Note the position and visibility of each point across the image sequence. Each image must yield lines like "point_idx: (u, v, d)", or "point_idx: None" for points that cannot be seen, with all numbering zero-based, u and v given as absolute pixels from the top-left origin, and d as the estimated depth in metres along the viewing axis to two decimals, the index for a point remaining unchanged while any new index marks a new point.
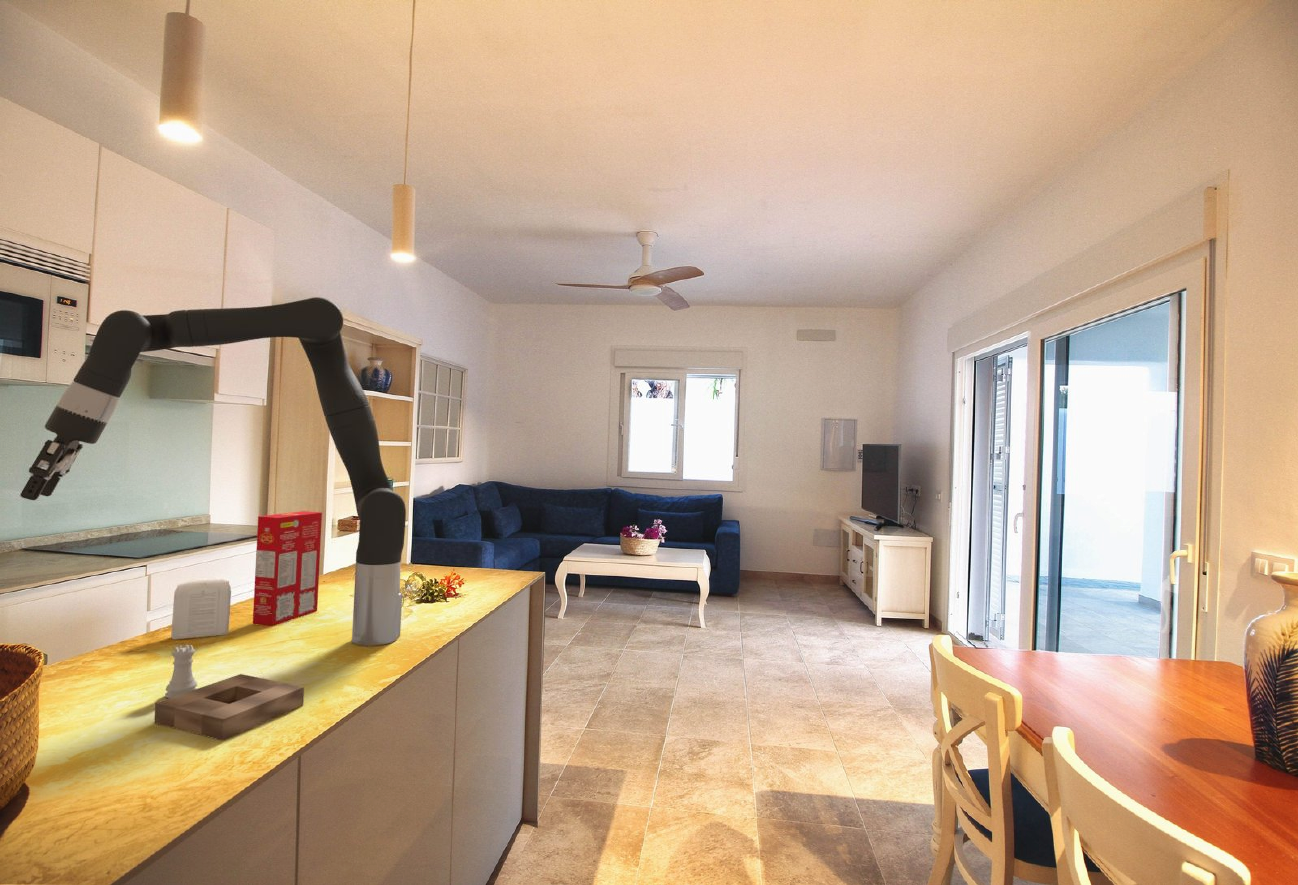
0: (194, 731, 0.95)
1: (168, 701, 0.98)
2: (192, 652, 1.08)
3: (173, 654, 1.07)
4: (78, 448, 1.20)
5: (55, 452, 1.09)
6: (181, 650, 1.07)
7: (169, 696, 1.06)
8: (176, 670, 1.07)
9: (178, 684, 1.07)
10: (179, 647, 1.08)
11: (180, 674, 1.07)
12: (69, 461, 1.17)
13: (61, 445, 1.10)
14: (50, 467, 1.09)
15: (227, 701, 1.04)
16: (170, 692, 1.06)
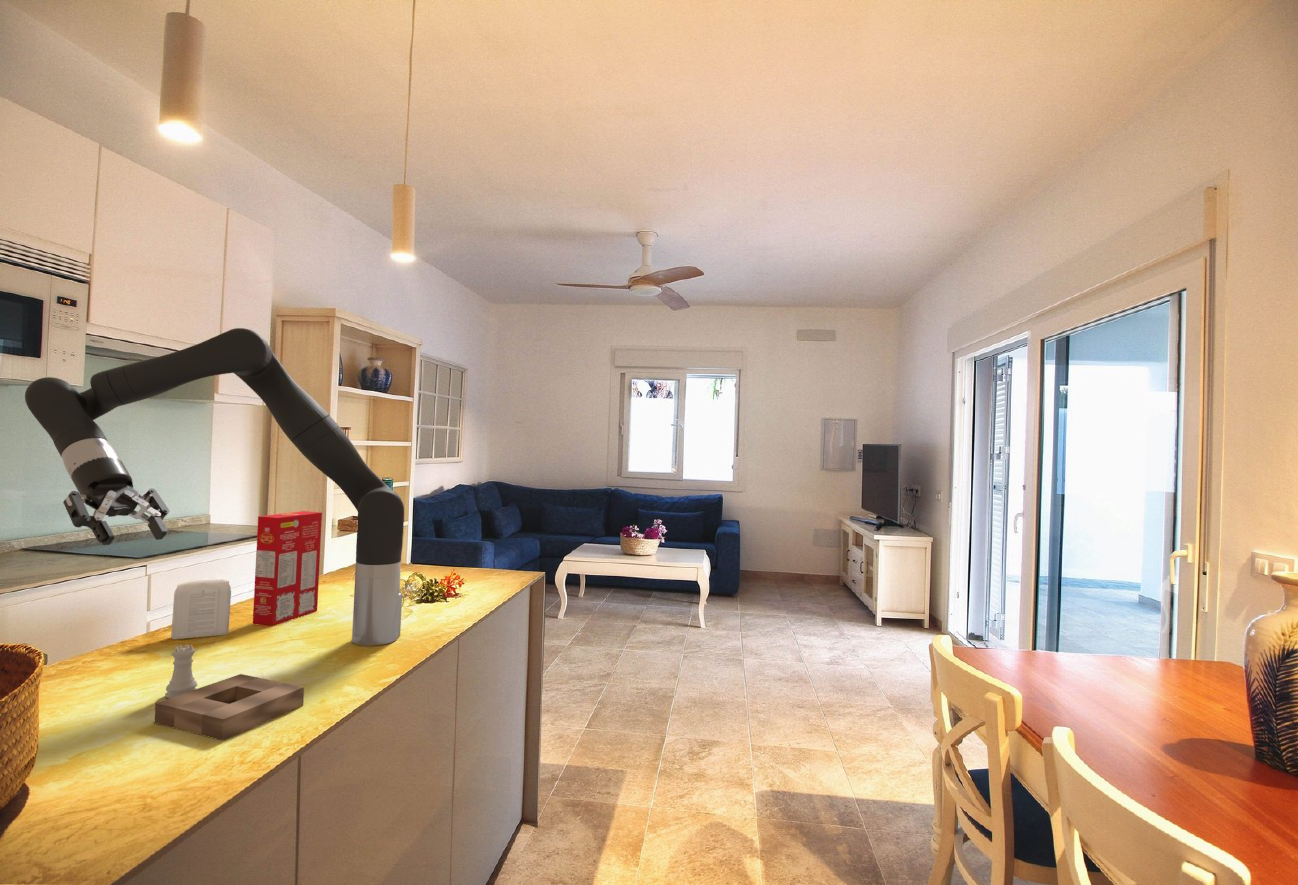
0: (194, 731, 0.95)
1: (168, 701, 0.98)
2: (192, 652, 1.08)
3: (173, 654, 1.07)
4: (149, 492, 1.20)
5: (71, 500, 1.08)
6: (181, 650, 1.07)
7: (169, 696, 1.06)
8: (176, 670, 1.07)
9: (178, 684, 1.07)
10: (179, 647, 1.08)
11: (180, 674, 1.07)
12: (134, 501, 1.16)
13: (70, 493, 1.08)
14: (78, 510, 1.07)
15: (227, 701, 1.04)
16: (170, 692, 1.06)
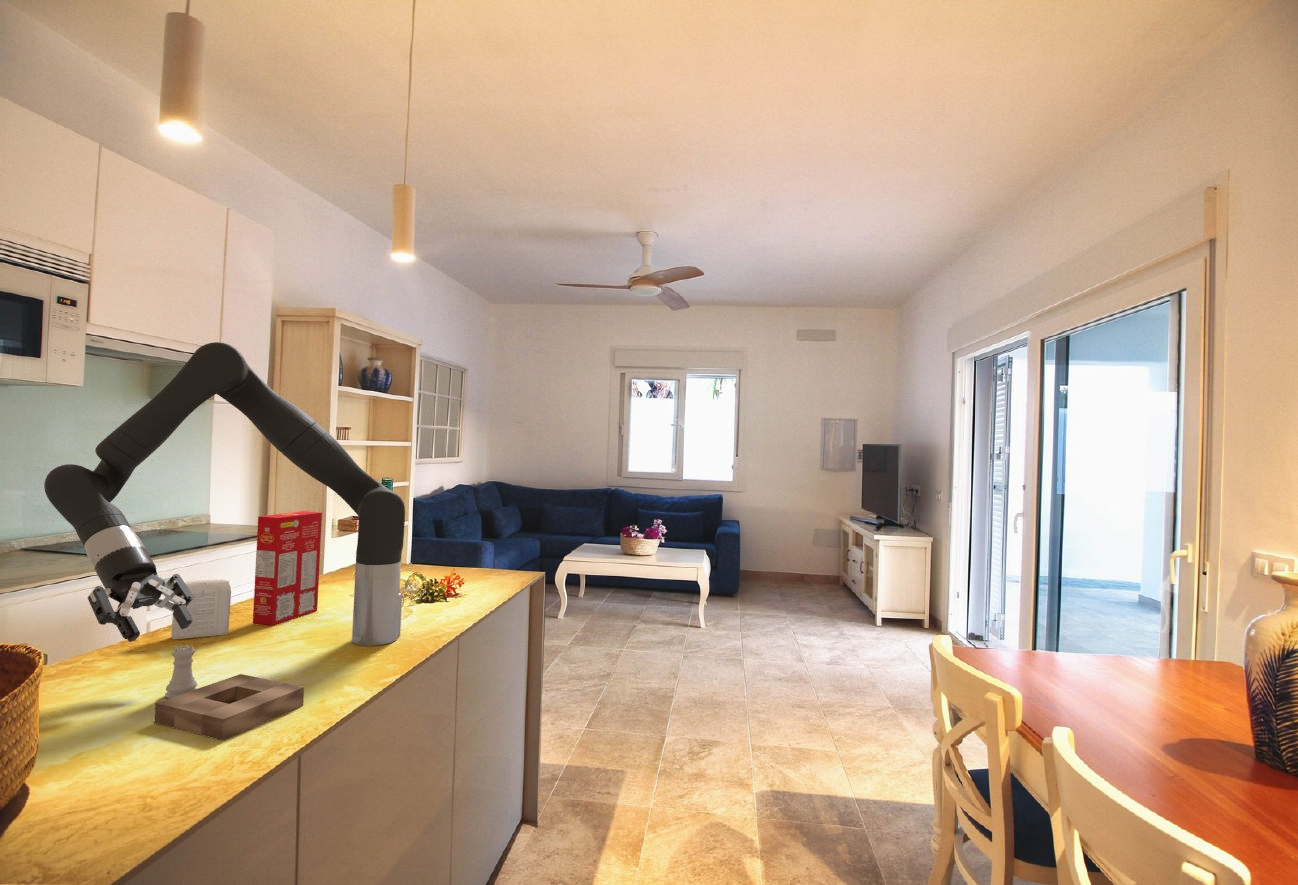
0: (194, 731, 0.95)
1: (168, 701, 0.98)
2: (192, 652, 1.08)
3: (173, 654, 1.07)
4: (173, 578, 1.17)
5: (95, 596, 1.05)
6: (181, 650, 1.07)
7: (169, 696, 1.06)
8: (176, 670, 1.07)
9: (178, 684, 1.07)
10: (179, 647, 1.08)
11: (180, 674, 1.07)
12: (158, 591, 1.13)
13: (94, 589, 1.06)
14: (102, 607, 1.05)
15: (227, 701, 1.04)
16: (170, 692, 1.06)
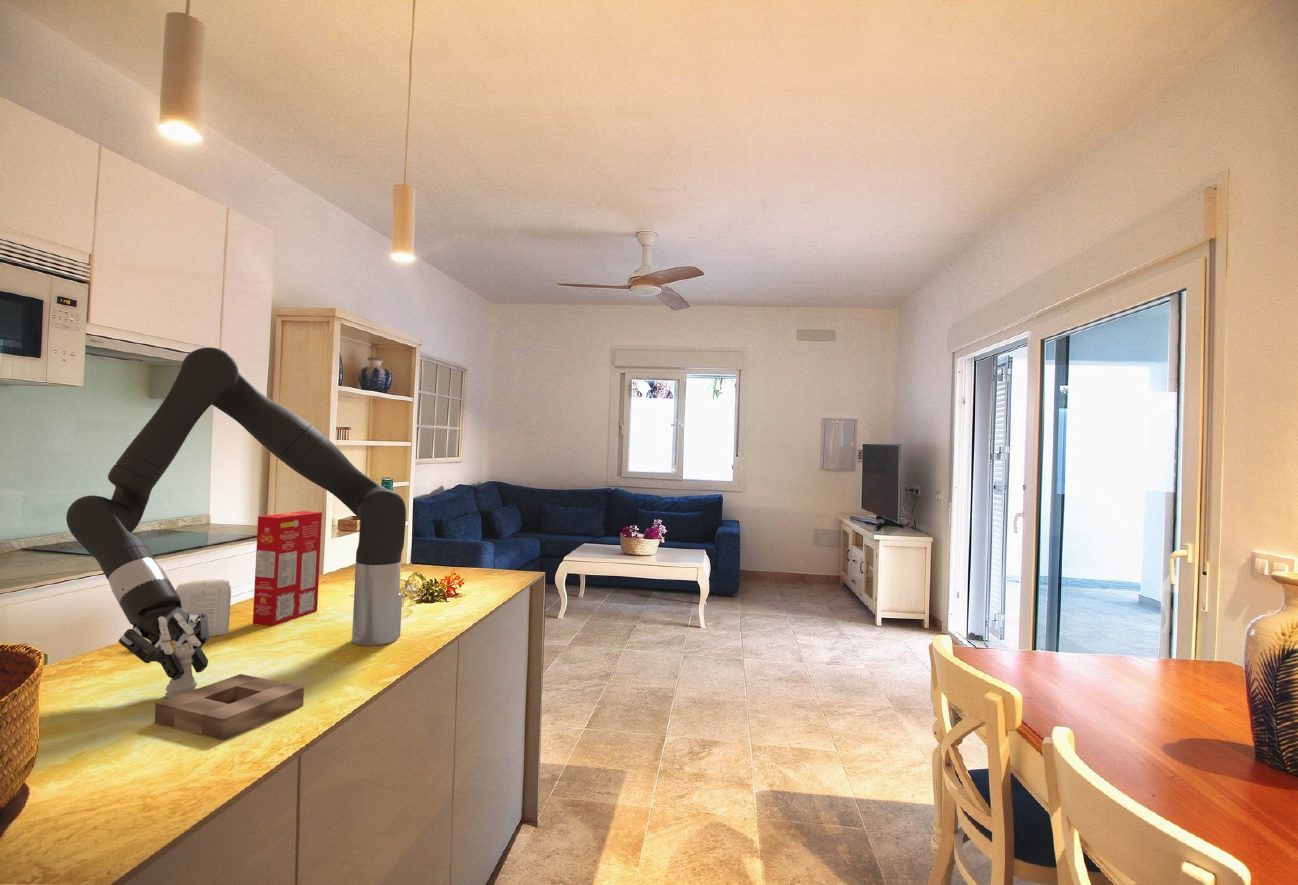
0: (194, 731, 0.95)
1: (168, 701, 0.98)
2: (192, 652, 1.08)
3: None
4: (199, 616, 1.15)
5: (130, 640, 1.03)
6: (181, 650, 1.07)
7: (169, 696, 1.06)
8: None
9: (178, 684, 1.07)
10: (179, 647, 1.08)
11: None
12: (179, 626, 1.10)
13: (125, 633, 1.03)
14: (145, 648, 1.04)
15: (227, 701, 1.04)
16: (170, 692, 1.06)
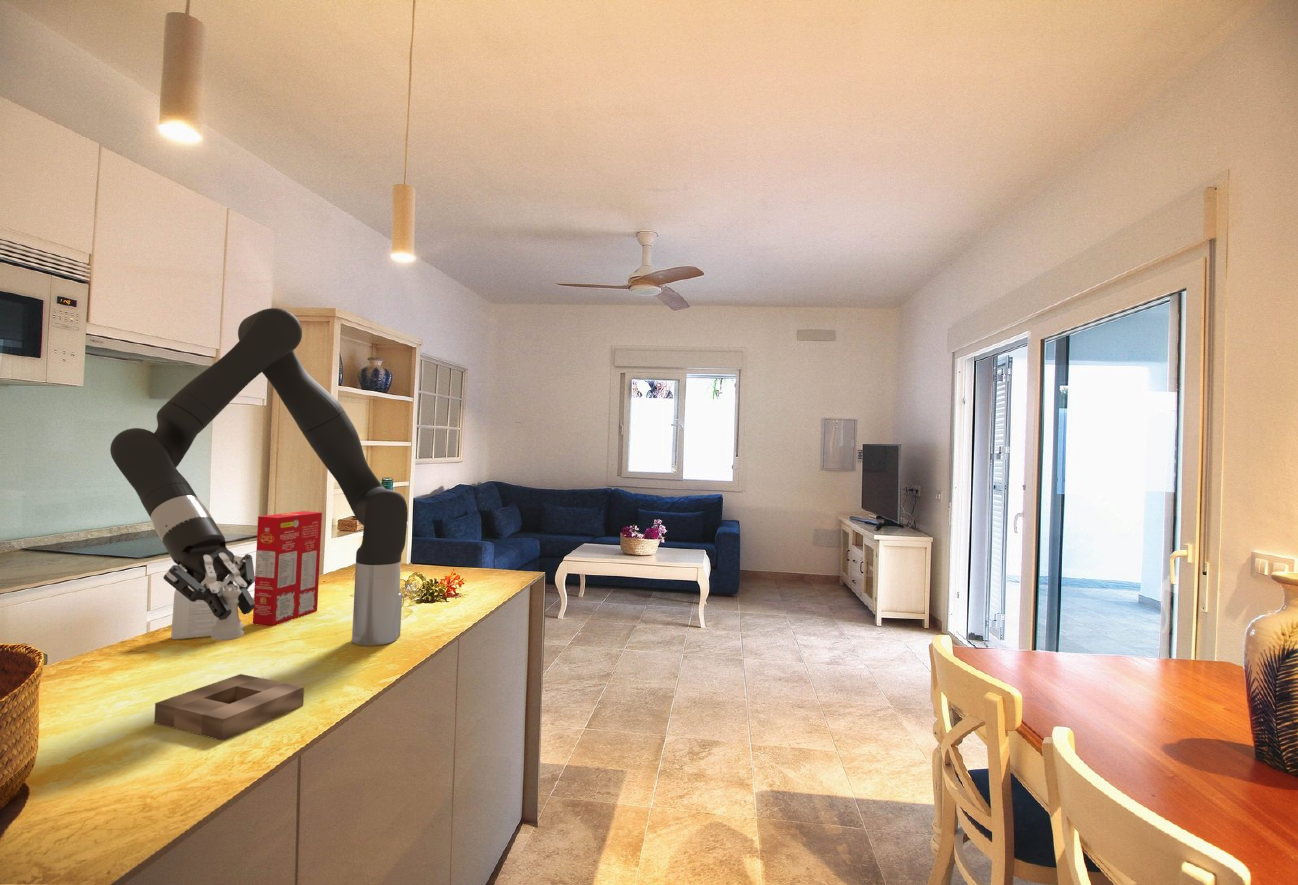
0: (194, 731, 0.95)
1: (168, 701, 0.98)
2: (238, 592, 1.03)
3: None
4: (244, 558, 1.09)
5: (176, 576, 0.98)
6: (227, 589, 1.02)
7: (215, 637, 1.01)
8: None
9: (224, 625, 1.01)
10: (225, 587, 1.03)
11: None
12: (224, 566, 1.05)
13: (170, 569, 0.98)
14: (191, 586, 0.98)
15: (227, 701, 1.04)
16: (216, 633, 1.01)
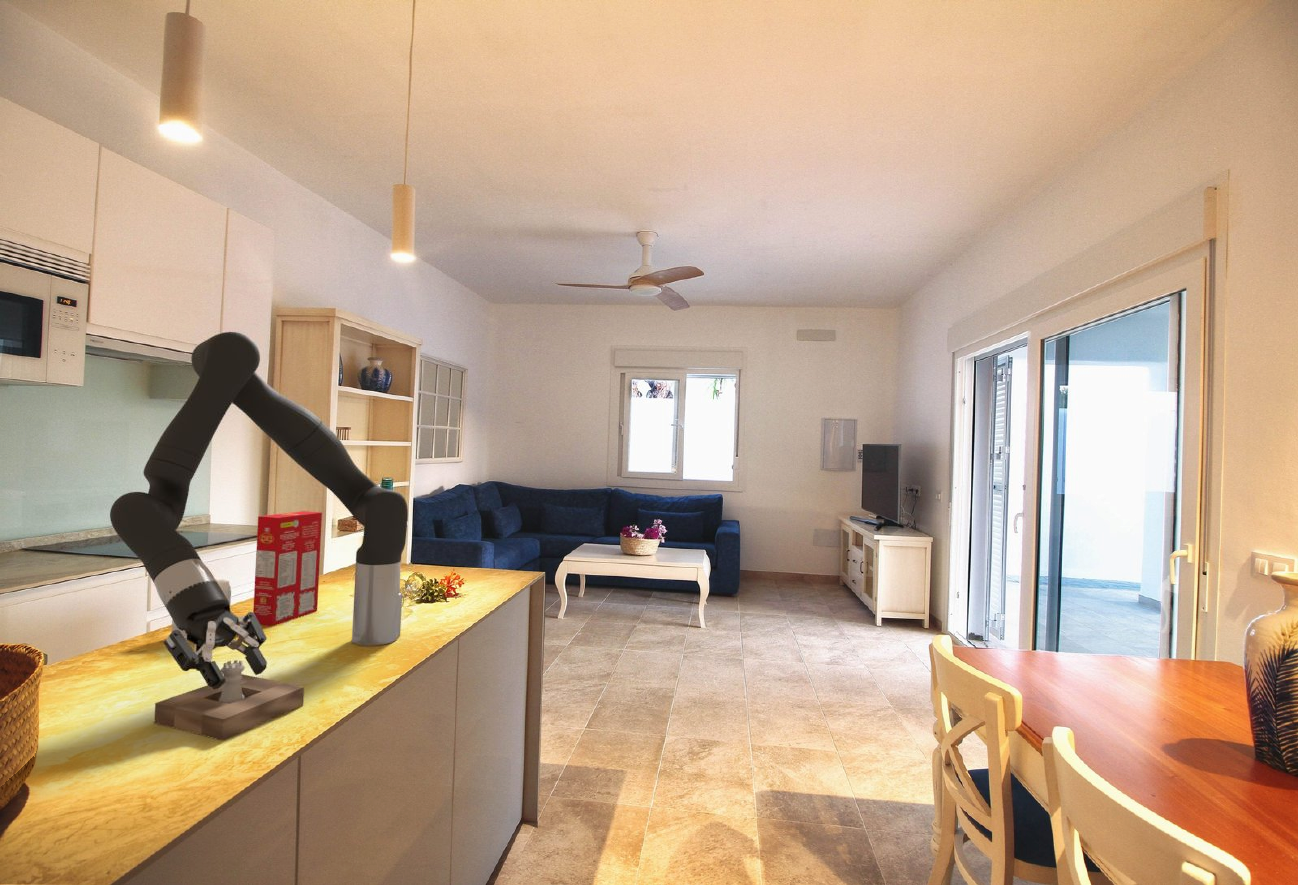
0: (194, 731, 0.95)
1: (168, 701, 0.98)
2: (242, 668, 1.02)
3: (222, 671, 1.00)
4: (248, 617, 1.09)
5: (174, 642, 0.97)
6: (231, 666, 1.01)
7: None
8: (225, 688, 1.00)
9: (228, 703, 1.00)
10: (228, 663, 1.02)
11: (230, 692, 1.00)
12: (232, 631, 1.04)
13: (171, 633, 0.97)
14: (185, 653, 0.96)
15: None
16: None
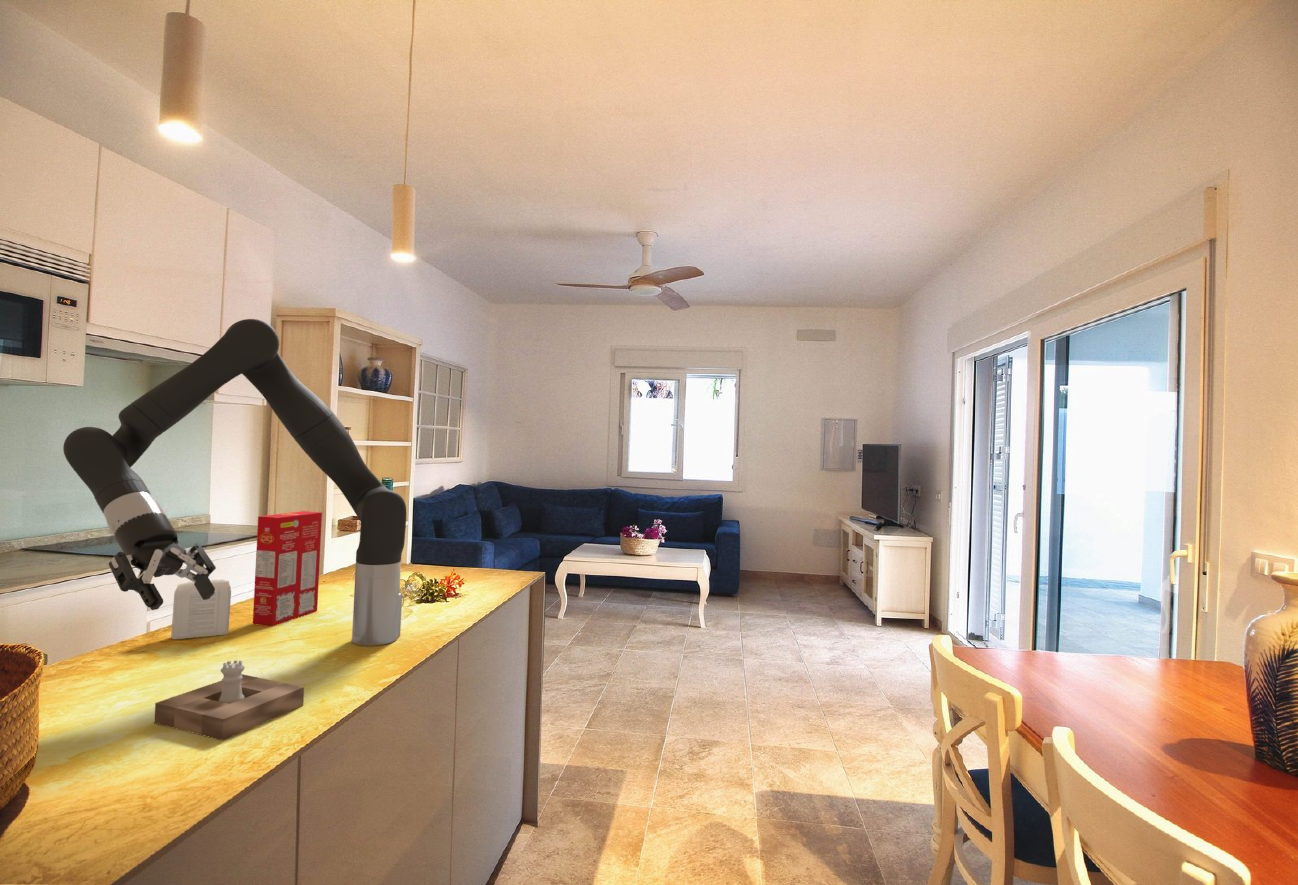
0: (194, 731, 0.95)
1: (168, 701, 0.98)
2: (242, 668, 1.02)
3: (222, 670, 1.00)
4: (194, 548, 1.13)
5: (117, 562, 1.01)
6: (231, 666, 1.01)
7: None
8: (225, 688, 1.00)
9: (228, 702, 1.00)
10: (228, 663, 1.02)
11: (230, 692, 1.00)
12: (180, 559, 1.09)
13: (116, 554, 1.02)
14: (125, 573, 1.00)
15: None
16: None
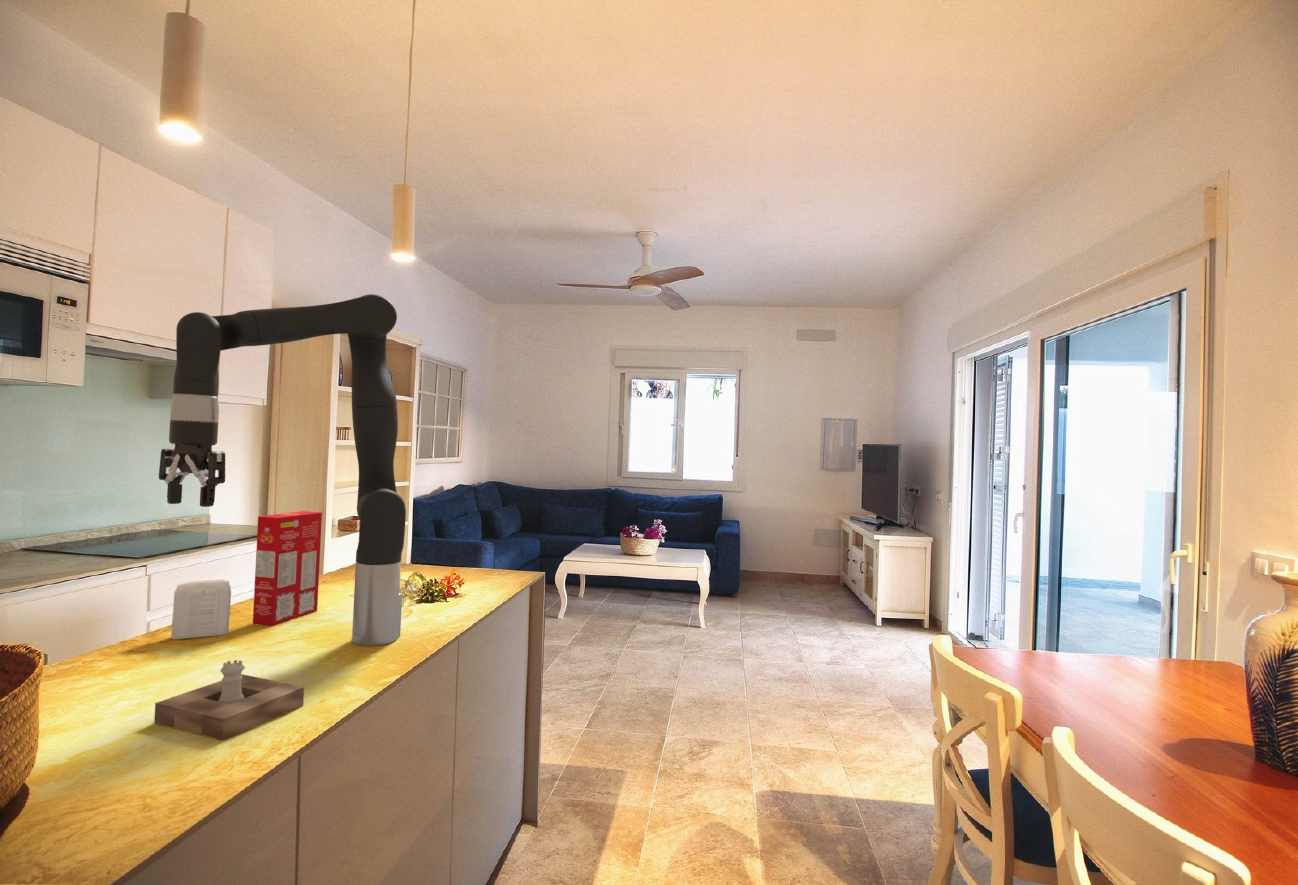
0: (194, 731, 0.95)
1: (168, 701, 0.98)
2: (242, 668, 1.02)
3: (222, 670, 1.00)
4: None
5: (222, 460, 1.21)
6: (230, 666, 1.01)
7: None
8: (225, 688, 1.01)
9: (228, 702, 1.00)
10: (228, 663, 1.02)
11: (230, 692, 1.00)
12: None
13: (222, 452, 1.21)
14: (224, 473, 1.21)
15: None
16: None
